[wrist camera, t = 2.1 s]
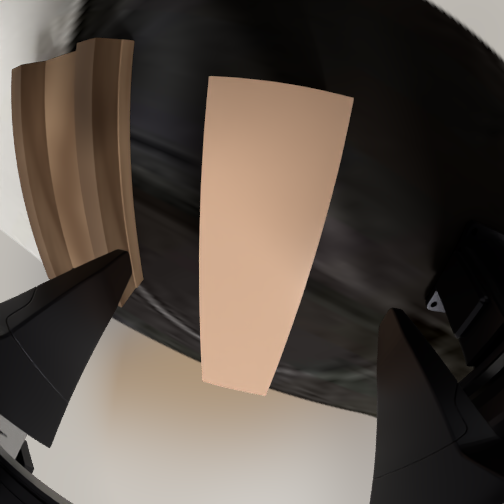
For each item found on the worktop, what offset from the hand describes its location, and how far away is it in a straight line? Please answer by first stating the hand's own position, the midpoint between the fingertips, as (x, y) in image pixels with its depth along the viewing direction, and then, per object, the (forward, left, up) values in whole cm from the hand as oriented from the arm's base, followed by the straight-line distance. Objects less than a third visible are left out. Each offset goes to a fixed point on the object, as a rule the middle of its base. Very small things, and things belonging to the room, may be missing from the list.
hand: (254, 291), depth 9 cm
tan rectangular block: (0, 0, -7) cm, 6 cm away
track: (+12, -1, -6) cm, 14 cm away
